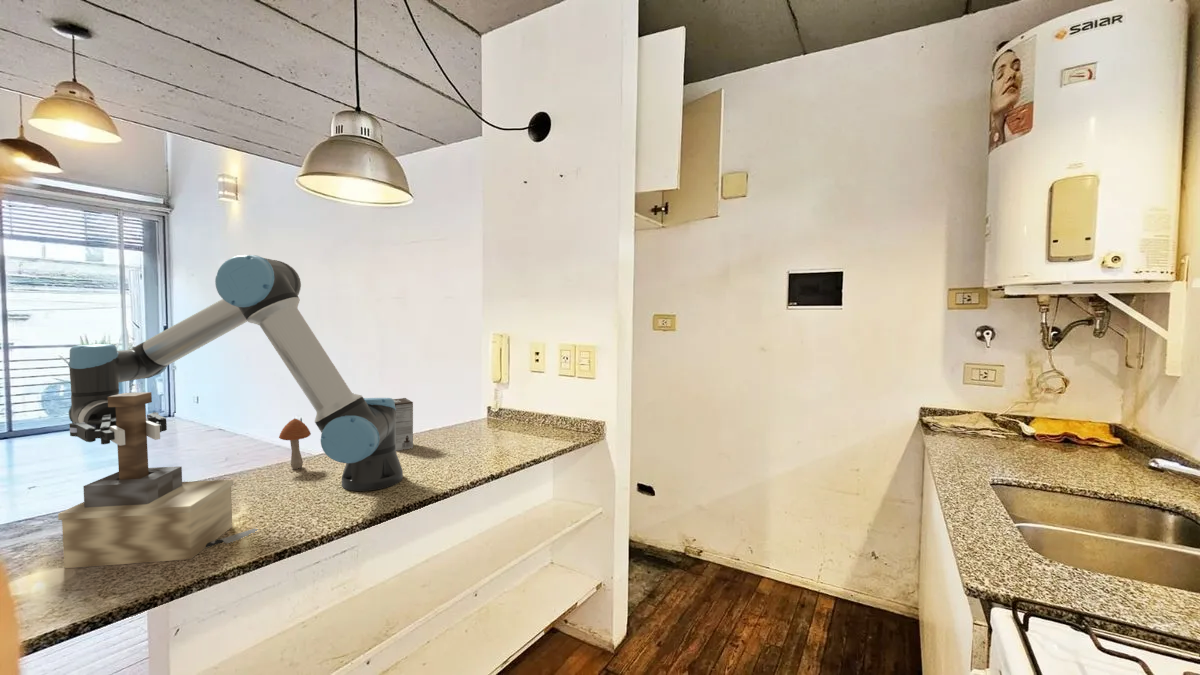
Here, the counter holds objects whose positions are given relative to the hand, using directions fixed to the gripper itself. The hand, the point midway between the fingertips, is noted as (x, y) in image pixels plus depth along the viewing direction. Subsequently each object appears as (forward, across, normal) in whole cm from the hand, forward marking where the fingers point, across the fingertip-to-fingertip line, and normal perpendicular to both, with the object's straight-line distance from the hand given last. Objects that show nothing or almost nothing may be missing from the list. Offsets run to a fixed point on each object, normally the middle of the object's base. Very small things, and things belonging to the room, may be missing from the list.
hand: (140, 435), depth 92 cm
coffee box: (-28, -72, -24) cm, 81 cm away
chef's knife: (+6, -13, -24) cm, 28 cm away
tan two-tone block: (-3, -2, -23) cm, 23 cm away
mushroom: (-31, -40, -23) cm, 56 cm away
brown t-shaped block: (-5, 0, -10) cm, 11 cm away
